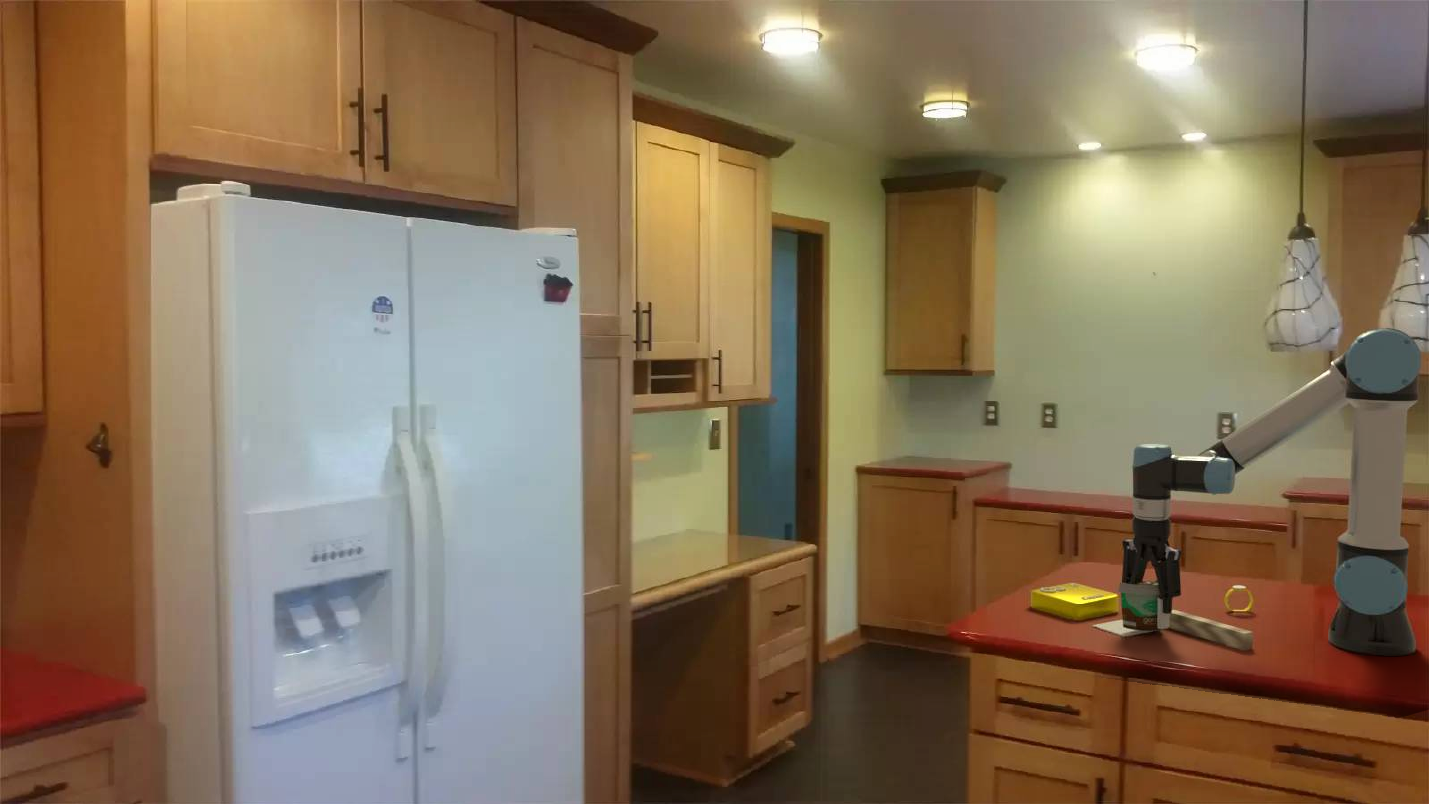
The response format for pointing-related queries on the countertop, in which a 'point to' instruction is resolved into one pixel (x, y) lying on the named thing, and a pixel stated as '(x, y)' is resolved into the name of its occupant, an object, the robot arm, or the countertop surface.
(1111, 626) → the plate
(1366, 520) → the robot arm
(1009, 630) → the countertop surface
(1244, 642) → the maple straightedge
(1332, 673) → the countertop surface
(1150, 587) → the food container
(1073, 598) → the element tile
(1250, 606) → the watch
